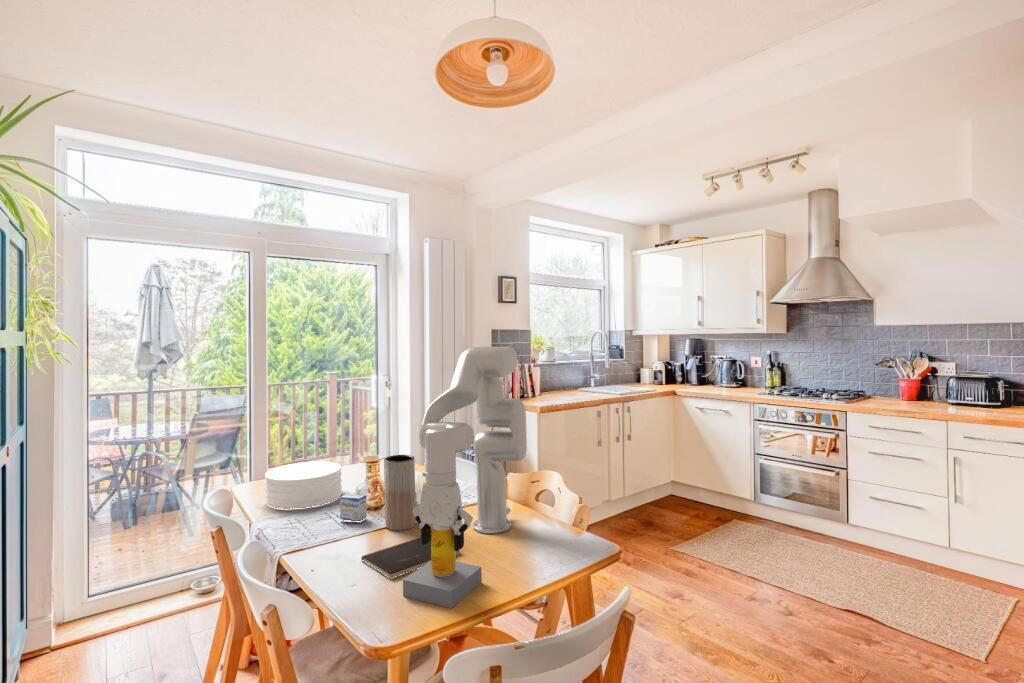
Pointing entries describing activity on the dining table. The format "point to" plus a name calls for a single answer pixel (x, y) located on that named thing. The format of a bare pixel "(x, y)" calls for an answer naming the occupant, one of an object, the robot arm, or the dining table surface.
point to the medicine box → (353, 507)
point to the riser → (442, 584)
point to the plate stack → (303, 485)
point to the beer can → (442, 551)
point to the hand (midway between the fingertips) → (442, 545)
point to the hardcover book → (401, 557)
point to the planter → (399, 491)
